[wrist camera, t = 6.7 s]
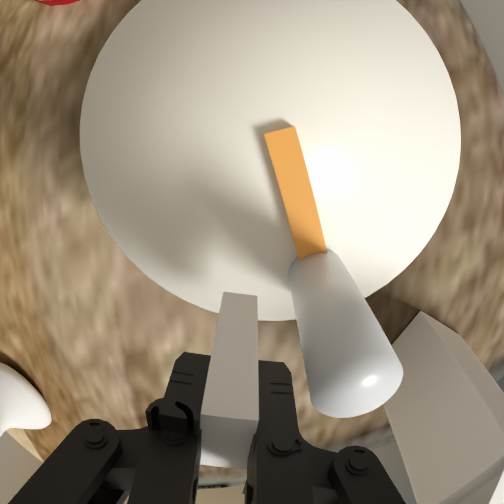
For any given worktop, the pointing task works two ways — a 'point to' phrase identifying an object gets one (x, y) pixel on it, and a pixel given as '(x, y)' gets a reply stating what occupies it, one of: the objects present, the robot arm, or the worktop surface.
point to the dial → (276, 165)
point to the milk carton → (447, 418)
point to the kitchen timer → (56, 2)
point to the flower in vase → (20, 402)
